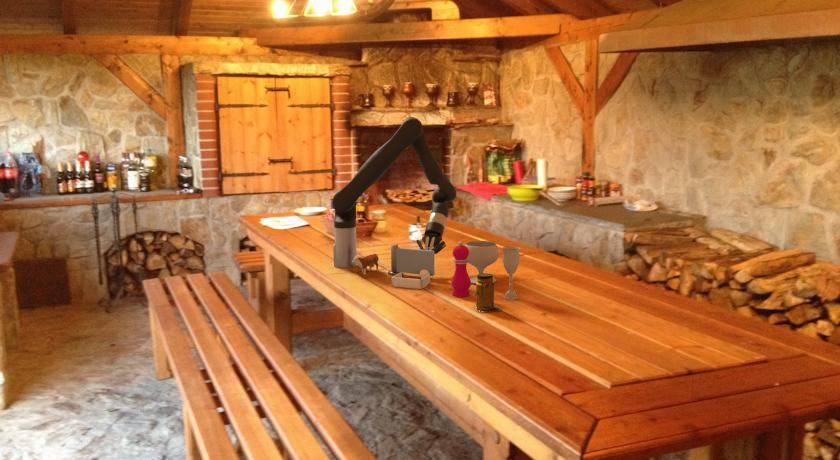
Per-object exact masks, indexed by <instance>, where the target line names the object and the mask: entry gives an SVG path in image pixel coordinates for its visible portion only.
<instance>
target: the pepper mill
mask: <svg viewBox="0 0 840 460" xmlns="http://www.w3.org/2000/svg"><path fill="white" fill-rule="evenodd" d="M457 243H458V244H457V245H456V246H454V247H453V250H452V256H453V258H454V259H453V262H454V264H455V265H454V266H455V269H454V273H453V275H452V278H451V281H450V285H451V287H452V288H453V289H452V296H453V297H455V296H456V298H467V297H469V296H470V294H471V291H470V289H469V288H470V287H471V285H472V283H471V280H470V277H471V276H469V274H468V271H467V270H468V269H467V264H469V263H468V261H467V260H468V259H467V257H468V256H469V249H468V248H467V247H466V246H465V245H464V242H463V241H462V240H460V241H458V242H457Z"/></svg>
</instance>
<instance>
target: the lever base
mask: <svg viewBox="0 0 840 460" xmlns="http://www.w3.org/2000/svg"><path fill="white" fill-rule="evenodd" d="M398 273H400V272H392V271H391V270H389V271H387V275H389V276H392V277H393V276H395V275H396V274H398Z"/></svg>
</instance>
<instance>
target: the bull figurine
mask: <svg viewBox="0 0 840 460" xmlns="http://www.w3.org/2000/svg"><path fill="white" fill-rule="evenodd" d="M352 262H353V263H356V264H357V266H358V267H360V268H361V274H362V275H363V276H365V275H366V274H367V272H366V271H368V272H371V271H372V269H373V268H374V267H375V266H376V269H375V272H378V271H379V263H378V262H379V256H378V255H377V253H373V254H369V255H360V256H359V255H357V256H356V257H355V258H354V260H353V261H352ZM367 269H368V270H367Z"/></svg>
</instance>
